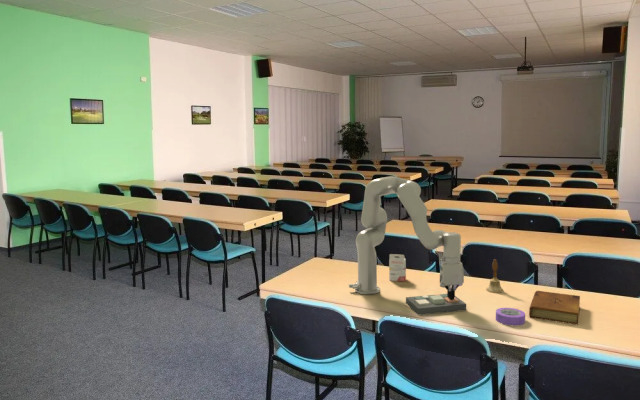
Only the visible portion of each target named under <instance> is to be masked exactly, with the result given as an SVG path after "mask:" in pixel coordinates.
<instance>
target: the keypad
mask: <svg viewBox="0 0 640 400" xmlns="http://www.w3.org/2000/svg"><path fill="white" fill-rule="evenodd" d="M436 295H440V296H441V297H443V298H444V297H447V293H440V294H439V293H438V294H431V295H429V294H428V295H427V294H426V295H417V296H416V295H415V296H406V297H405V304H406V305H407V306H408V307H409V308H410V309H411V310H412V311H413V312H414V313H415V314H416V315H418V316H419V315H429V314H440V313H442V314H443V313H452V312H463V311H467V303H466V302H464V301H463V300H462V299H460V297H458V296H456V295H455V298H456V299H458V300H459V302H454V303H447V302H446V301H445V300H444V303H443V304H432V303H431V302H430V301H429V298H430V296H436ZM422 299H426V300H427V301H428V302H429V303H430V305H421V306H418V305H417V304H416V303H415V300H422Z"/></svg>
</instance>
